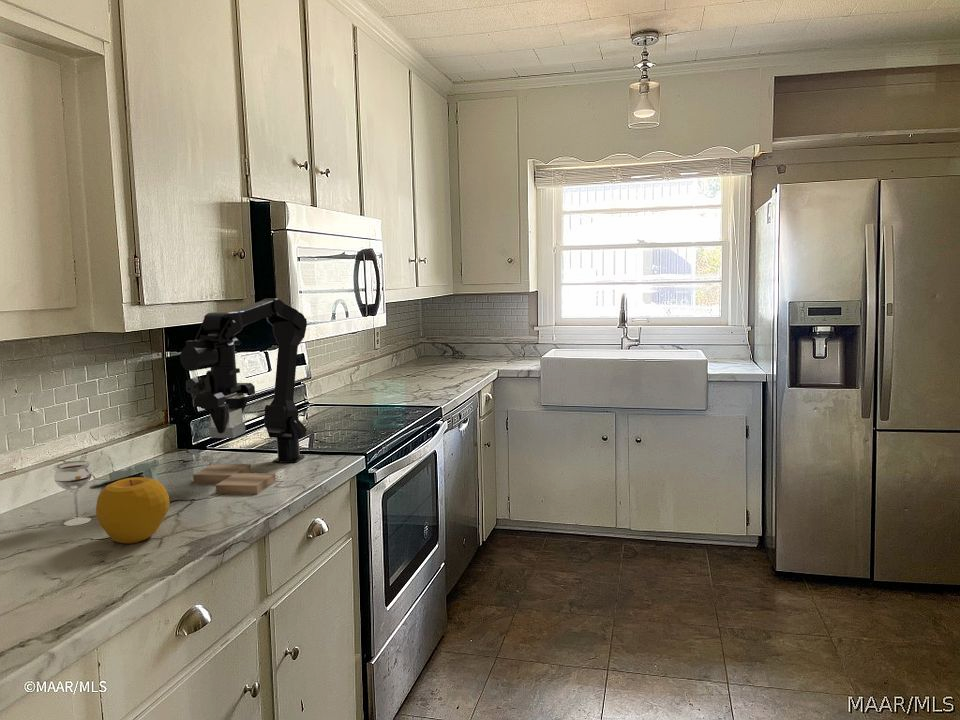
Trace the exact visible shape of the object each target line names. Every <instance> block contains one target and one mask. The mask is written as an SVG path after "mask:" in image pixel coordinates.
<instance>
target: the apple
mask: <svg viewBox="0 0 960 720" xmlns="http://www.w3.org/2000/svg"><path fill="white" fill-rule="evenodd" d="M170 502H171V501H170V496H169V494H168V491H167V489H166V488H165V486H164V485H163V484H162V483H161V482H160V481H157V480H156V479H151V478H144V476H140V477H139V476H137V477H125V478H121V479H117V480H115V481H114V482H112V483H109V484H107V485H106V486H105V487H104V488H103V489H102V490H101V491H100V493H98V496H97V499H96V506H95V515H96V519H97V521H98V523H99V524H98V525H100V527H101V528H102V530H104V532H105V533H106V534H107V536H108V537H109V538H110V539H111V540H112V541H114V542H117V543H120V544H129V545H130V544H136V543H139V542H142V541H145V540H146V539H148V538H149V537H151V536H153V535H154V534H155V533H157V531H158V530H159V528H160V526H161V524H162V523H163V522H164V519H165V517H166V515H167V514H168V512H169V508H170Z"/></svg>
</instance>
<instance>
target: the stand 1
mask: <svg viewBox="0 0 960 720" xmlns="http://www.w3.org/2000/svg"><path fill="white" fill-rule="evenodd" d="M235 473H252V464H250V463H245V464H243V463H239V464H238V463H213V464H211V465H209V466H207V467H206V468H203V469H202V470H199V471H197V472H196V473H194V474H192V479H193V484H218V483H220V482H222V481H223V480H225V479H227V478H228V477H230V476H232V475H233V474H235Z"/></svg>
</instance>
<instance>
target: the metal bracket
mask: <svg viewBox="0 0 960 720" xmlns="http://www.w3.org/2000/svg"><path fill="white" fill-rule="evenodd" d="M166 465H167V463H165V464H160V461H159V459H157V458H156V459H153V460H152V461H151V462H147V461H145V462H142V463H140V464H139V463H138V464H136V465H133V466H129V467H128V468H126V469H120V470H115V471H112V472H110V473H108V477H109V480H105V481H102V482H98V483H95V484H92V485H90V488H94V487H98V486H100V485H103V484H106V483H110V482H113V481H114V482H115V481H118V480H122V479H125V478H128V477H130V476H134V475H137V474H139V473H140V474H141V473H142V477H143V478H151V479H156V480H157V481H159V480H160V479H159V476H158V474H157V470H156V469H157V468H160V467H163V466H166ZM159 482H160V481H159Z"/></svg>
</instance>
